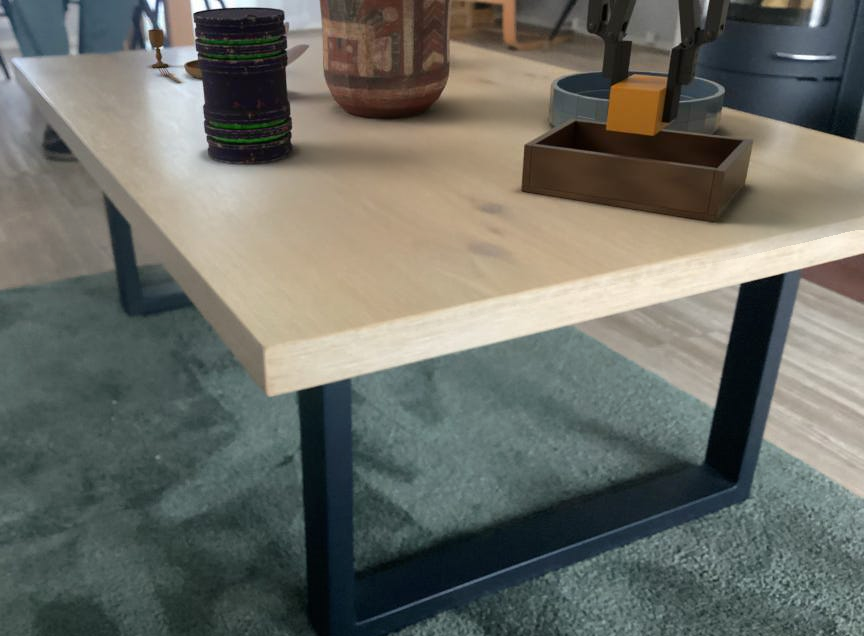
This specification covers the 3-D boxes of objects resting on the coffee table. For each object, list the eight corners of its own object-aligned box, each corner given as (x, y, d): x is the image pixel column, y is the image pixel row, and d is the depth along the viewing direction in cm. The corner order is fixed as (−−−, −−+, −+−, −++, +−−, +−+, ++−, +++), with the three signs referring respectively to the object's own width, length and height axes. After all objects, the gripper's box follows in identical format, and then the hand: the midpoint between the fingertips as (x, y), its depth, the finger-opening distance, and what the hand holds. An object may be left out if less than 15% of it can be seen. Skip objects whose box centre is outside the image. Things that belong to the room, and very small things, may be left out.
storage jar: (193, 149, 100) (177, 11, 93) (269, 137, 105) (260, 5, 98) (229, 169, 93) (215, 21, 86) (309, 155, 98) (302, 13, 90)
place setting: (178, 85, 134) (173, 45, 131) (146, 66, 150) (141, 30, 147) (283, 75, 141) (281, 36, 138) (242, 57, 157) (240, 22, 154)
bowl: (733, 119, 111) (741, 78, 108) (693, 156, 96) (701, 110, 93) (581, 102, 120) (585, 65, 118) (522, 134, 105) (525, 92, 103)
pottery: (433, 127, 108) (435, -30, 100) (303, 119, 113) (295, -32, 105) (464, 99, 123) (469, -40, 115) (348, 92, 128) (345, -41, 119)
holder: (744, 185, 86) (753, 139, 84) (715, 222, 76) (724, 171, 74) (567, 160, 94) (571, 118, 92) (520, 191, 85) (524, 144, 83)
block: (674, 120, 84) (680, 78, 82) (653, 136, 79) (660, 91, 77) (628, 115, 86) (634, 74, 84) (605, 130, 81) (610, 86, 79)
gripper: (562, -169, 72) (540, 114, 83) (786, -178, 64) (728, 136, 75) (593, -165, 78) (568, 99, 89) (802, -173, 70) (746, 119, 81)
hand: (641, 116), depth 82 cm, fingers closed on block, 4 cm apart
